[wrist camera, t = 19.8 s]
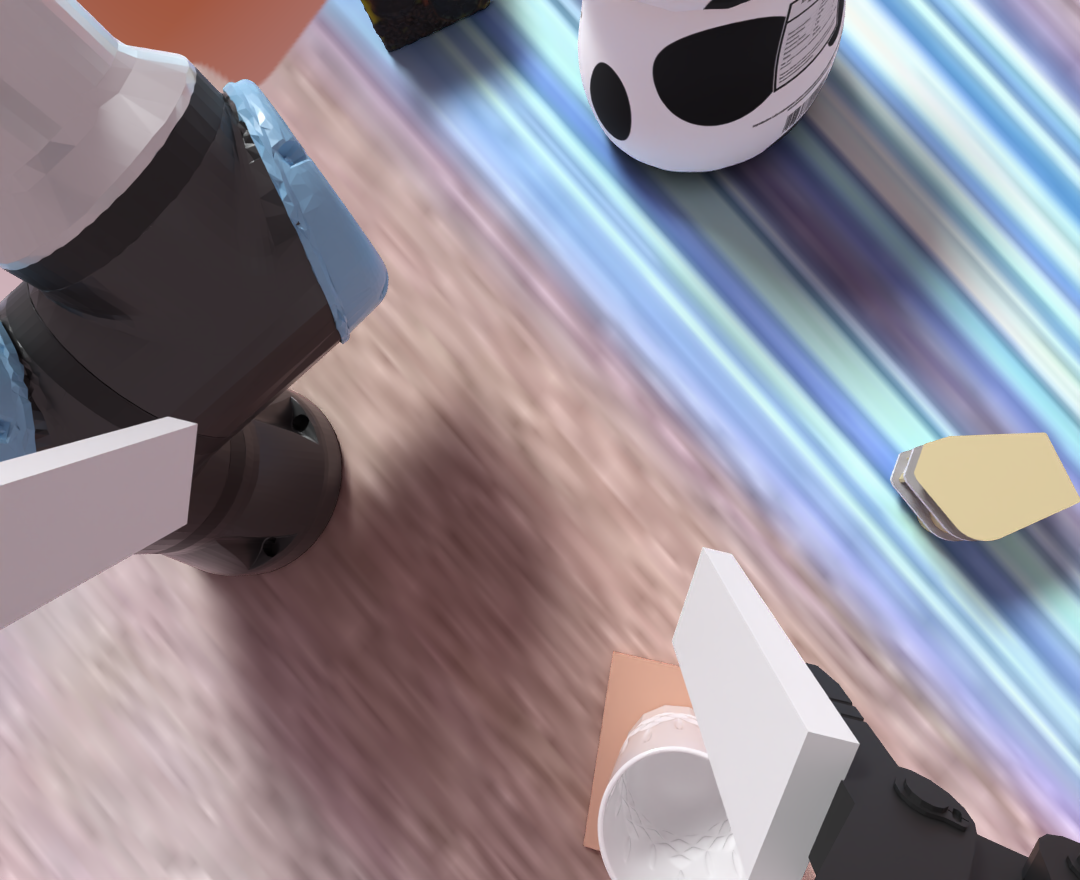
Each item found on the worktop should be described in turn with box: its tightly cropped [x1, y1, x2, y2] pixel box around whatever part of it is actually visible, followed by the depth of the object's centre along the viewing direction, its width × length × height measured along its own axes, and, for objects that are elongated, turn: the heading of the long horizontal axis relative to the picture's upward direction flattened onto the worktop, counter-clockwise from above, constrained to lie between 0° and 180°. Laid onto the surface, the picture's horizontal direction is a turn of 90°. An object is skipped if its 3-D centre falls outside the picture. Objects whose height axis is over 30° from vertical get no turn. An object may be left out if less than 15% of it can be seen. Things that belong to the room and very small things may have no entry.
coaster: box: [583, 651, 693, 851], centre depth 37 cm, size 12×12×1 cm
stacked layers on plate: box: [890, 433, 1080, 541], centre depth 34 cm, size 10×9×6 cm
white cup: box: [598, 705, 747, 880], centre depth 32 cm, size 8×8×10 cm
